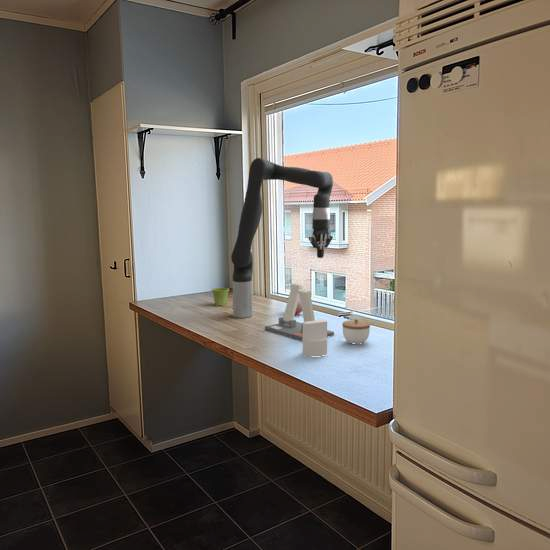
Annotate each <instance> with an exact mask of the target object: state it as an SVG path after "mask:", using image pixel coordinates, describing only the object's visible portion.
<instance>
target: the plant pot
mask: <svg viewBox="0 0 550 550" xmlns="http://www.w3.org/2000/svg"><path fill="white" fill-rule="evenodd" d="M229 291H230V288H227V287H215V288H211V292H212V295H213V301H214V306H215V307H216V306H217V307H220V306H221V307H225V306H227V304H228V303H227V302H228V295H229Z"/></svg>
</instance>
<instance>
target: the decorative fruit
mask: <svg viewBox="0 0 550 550" xmlns="http://www.w3.org/2000/svg"><path fill="white" fill-rule="evenodd" d="M288 298H289V296H288V297H287V298H286V303H287V302H288ZM300 313H303V312H302V306H301V300H300V297H299V301H298V305H297V308H296V312H295V315H299V314H300Z"/></svg>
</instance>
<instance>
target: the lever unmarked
mask: <svg viewBox="0 0 550 550" xmlns="http://www.w3.org/2000/svg"><path fill="white" fill-rule="evenodd" d="M303 288H304V286H302V285H299V284H294V283H292V284H290V291H289V295H288V297H289V298H288V297H287V298H288V299H287V301H288V302H287V301H286V306H285V310H284V313H283V316H282V317H283V321H282V322H283V323H285V324H289V321H290V320H295V315H296V314H295V312H296V308H297V305H298V301H299V297H300V295H299V293H298V291H299V290H301V289H303Z"/></svg>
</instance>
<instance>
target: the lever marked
mask: <svg viewBox="0 0 550 550" xmlns="http://www.w3.org/2000/svg"><path fill="white" fill-rule="evenodd" d="M298 293H299V295H300V300H301V306H302V312H301V313H302V319H303V322H308V321H316V319H315V315H314V307H313V301H312V291H311V290H309V289H303V288H302V289H301V290H299V291H298Z"/></svg>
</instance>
